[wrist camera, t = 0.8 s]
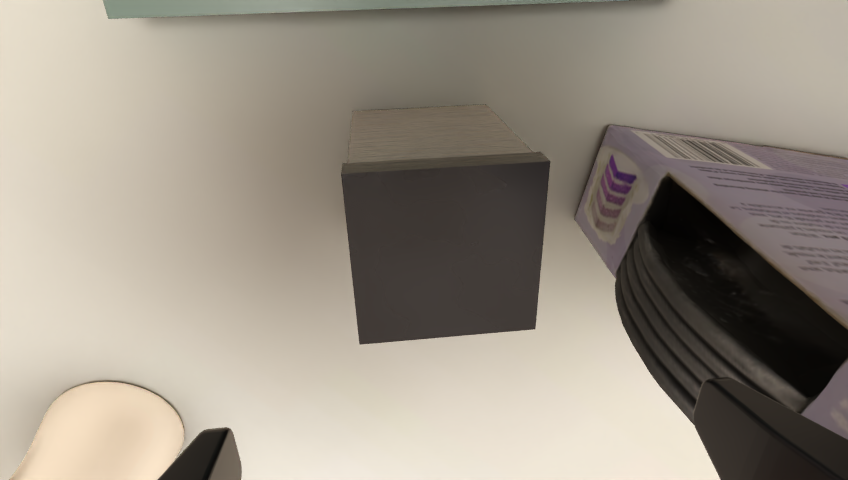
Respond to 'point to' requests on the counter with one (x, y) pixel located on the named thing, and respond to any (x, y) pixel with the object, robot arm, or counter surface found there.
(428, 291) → the capped grey block
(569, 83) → the counter surface
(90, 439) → the beer glass
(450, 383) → the counter surface
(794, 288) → the cake pan box
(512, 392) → the counter surface
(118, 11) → the tray
